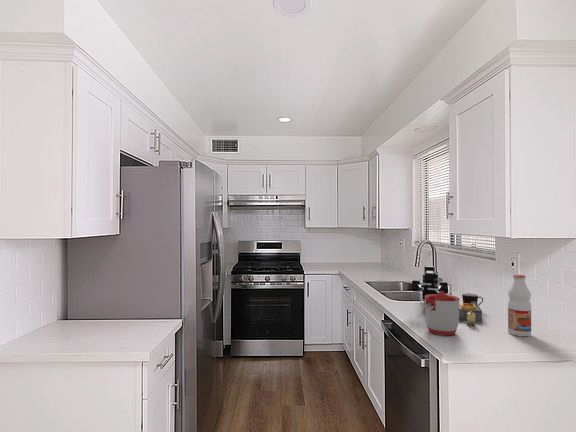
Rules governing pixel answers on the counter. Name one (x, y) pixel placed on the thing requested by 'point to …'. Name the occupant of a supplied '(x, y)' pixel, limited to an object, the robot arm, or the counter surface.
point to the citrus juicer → (442, 313)
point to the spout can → (471, 319)
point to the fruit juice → (519, 308)
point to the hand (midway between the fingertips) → (429, 289)
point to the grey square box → (466, 308)
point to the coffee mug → (470, 298)
